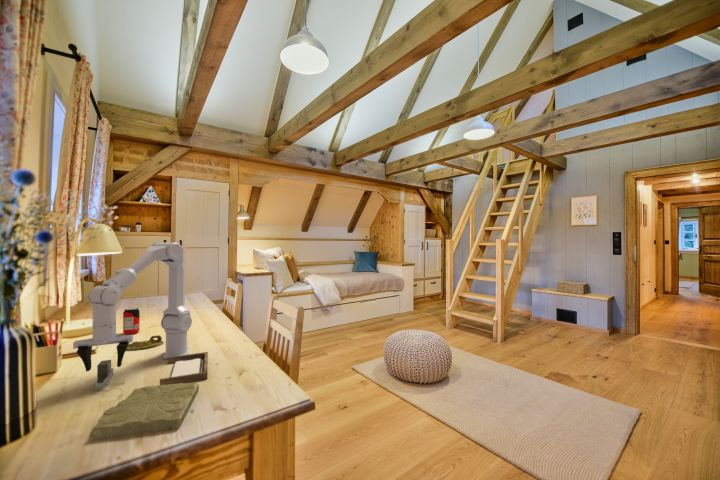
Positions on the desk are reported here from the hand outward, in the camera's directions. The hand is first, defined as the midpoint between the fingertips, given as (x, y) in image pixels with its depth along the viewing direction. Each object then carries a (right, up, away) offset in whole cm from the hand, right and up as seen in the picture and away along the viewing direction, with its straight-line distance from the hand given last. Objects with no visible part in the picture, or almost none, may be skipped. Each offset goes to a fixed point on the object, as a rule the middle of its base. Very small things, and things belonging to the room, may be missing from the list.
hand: (104, 368), depth 99 cm
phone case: (+21, -5, +9) cm, 23 cm away
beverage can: (-29, -5, +52) cm, 60 cm away
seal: (-11, -5, +34) cm, 36 cm away
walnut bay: (+20, -5, +9) cm, 22 cm away
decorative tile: (+26, -5, -17) cm, 31 cm away
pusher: (0, -5, 0) cm, 5 cm away
